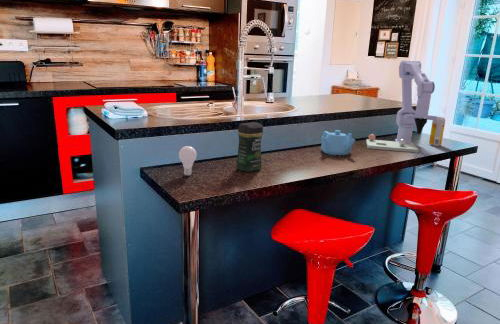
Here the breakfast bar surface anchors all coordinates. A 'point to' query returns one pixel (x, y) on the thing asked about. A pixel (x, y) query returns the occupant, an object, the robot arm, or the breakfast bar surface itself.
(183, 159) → the lightbulb
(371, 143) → the hole plate
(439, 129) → the beer can
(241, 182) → the breakfast bar surface
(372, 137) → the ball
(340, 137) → the teapot
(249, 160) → the coffee jar
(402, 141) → the steel ball
